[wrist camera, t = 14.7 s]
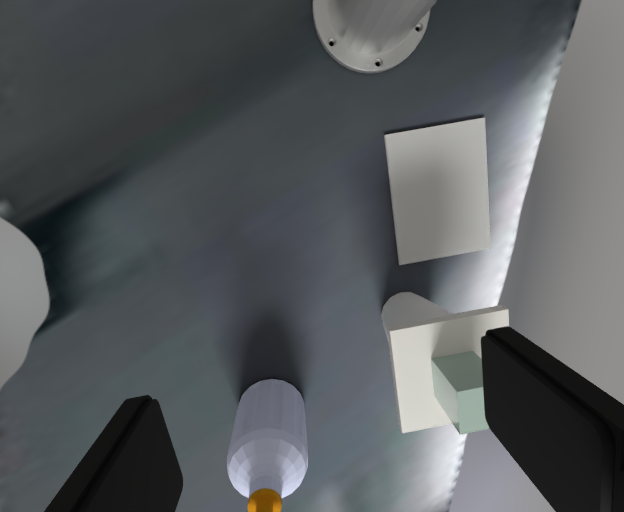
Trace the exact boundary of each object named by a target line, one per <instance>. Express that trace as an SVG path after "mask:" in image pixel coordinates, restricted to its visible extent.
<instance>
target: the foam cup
mask: <svg viewBox="0 0 624 512" xmlns="http://www.w3.org/2000/svg"><path fill="white" fill-rule="evenodd" d="M452 314H453V313H451V312H449V311H447V310H445V309H444V308H442V307H440V306H438V305H436V304H434V303H432V302H430V301H429V300H427V299H425V298H423V297H421V296H419V295H417V294H414V293H412V292H400V293H398V294H396V295H394V296H392V297H390V298H389V300H388V301H387V302H386V303H385V304H384V306H383V310H382V314H381V318H382V322H383V326H384V329H385V332H386V336H387V339H388V333H387V326H392V325H398V324H403V323H409V322H414V321H419V320H425V319H430V318H435V317H441V316H446V315H452ZM388 342H389V341H388Z"/></svg>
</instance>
